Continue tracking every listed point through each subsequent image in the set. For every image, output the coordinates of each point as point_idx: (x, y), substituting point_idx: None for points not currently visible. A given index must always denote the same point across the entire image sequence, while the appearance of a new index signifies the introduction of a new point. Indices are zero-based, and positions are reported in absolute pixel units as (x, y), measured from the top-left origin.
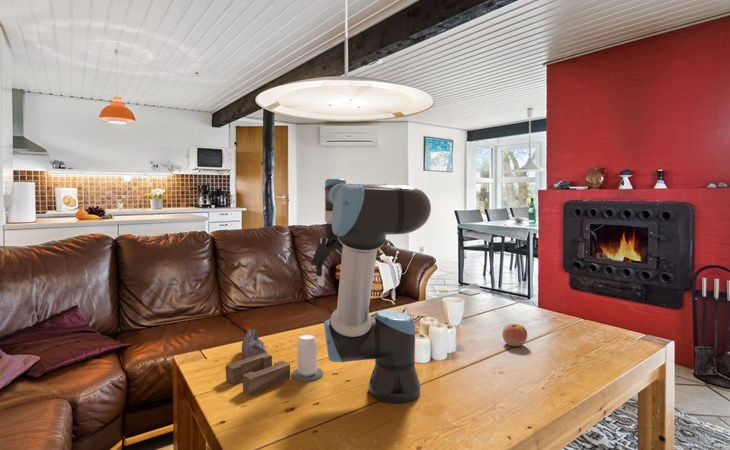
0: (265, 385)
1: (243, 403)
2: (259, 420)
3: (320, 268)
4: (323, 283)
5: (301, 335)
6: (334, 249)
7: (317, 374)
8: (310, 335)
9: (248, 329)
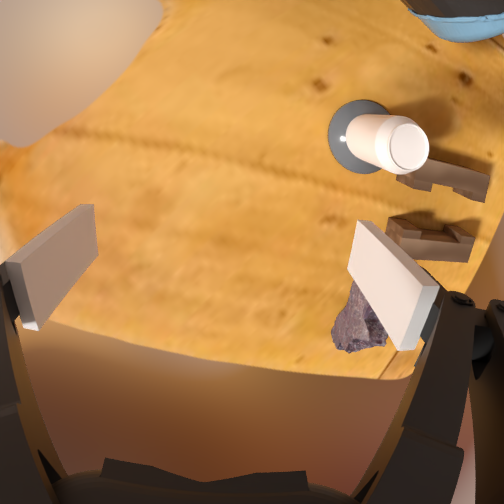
0: (453, 164)
1: (486, 160)
2: (499, 103)
3: (437, 295)
4: (372, 226)
5: (410, 170)
6: (302, 473)
7: (356, 112)
8: (391, 150)
9: (384, 345)
